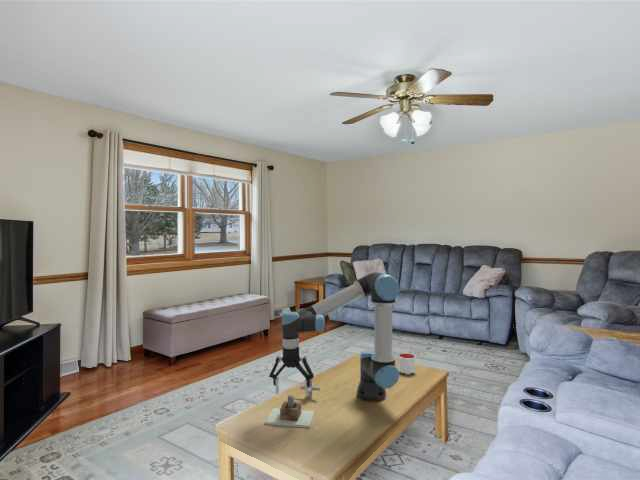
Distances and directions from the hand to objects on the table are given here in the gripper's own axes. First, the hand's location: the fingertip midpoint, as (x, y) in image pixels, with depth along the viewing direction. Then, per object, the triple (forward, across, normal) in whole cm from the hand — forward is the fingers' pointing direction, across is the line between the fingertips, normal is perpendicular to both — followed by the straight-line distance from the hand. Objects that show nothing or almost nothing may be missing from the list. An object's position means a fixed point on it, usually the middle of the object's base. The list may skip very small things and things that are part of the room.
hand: (291, 393), depth 173 cm
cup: (+14, -56, -68) cm, 89 cm away
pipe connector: (+12, -4, -23) cm, 26 cm away
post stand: (+12, +1, 0) cm, 12 cm away
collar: (+11, +1, 0) cm, 11 cm away
